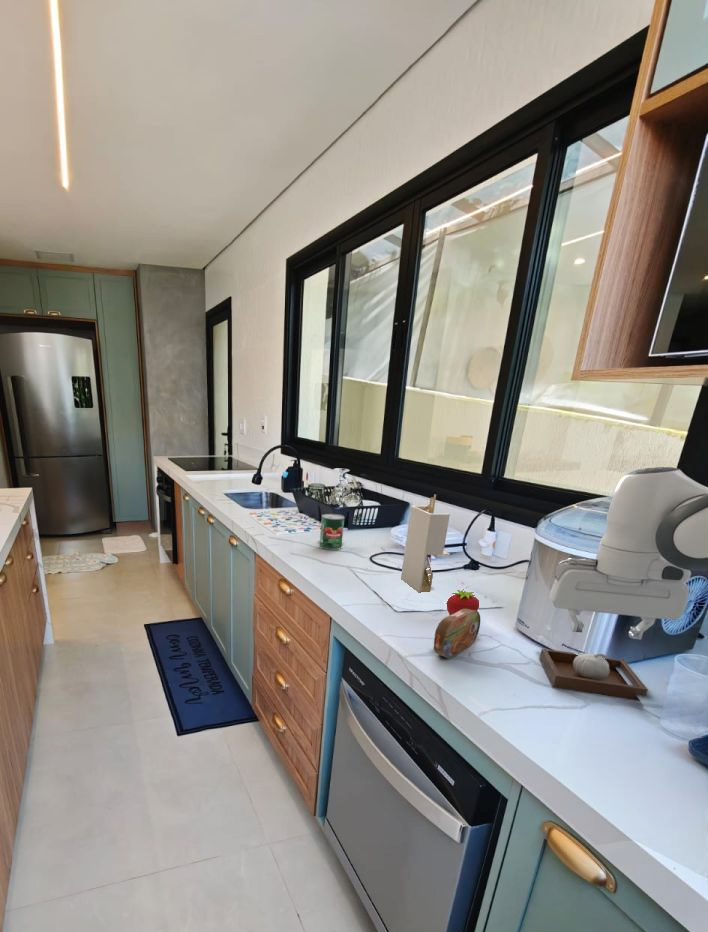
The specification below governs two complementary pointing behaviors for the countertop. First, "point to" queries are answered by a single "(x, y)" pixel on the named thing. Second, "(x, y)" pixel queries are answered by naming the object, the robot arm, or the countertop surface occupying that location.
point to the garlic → (591, 666)
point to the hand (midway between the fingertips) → (604, 634)
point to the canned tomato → (331, 531)
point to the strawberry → (462, 602)
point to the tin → (456, 633)
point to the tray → (613, 685)
